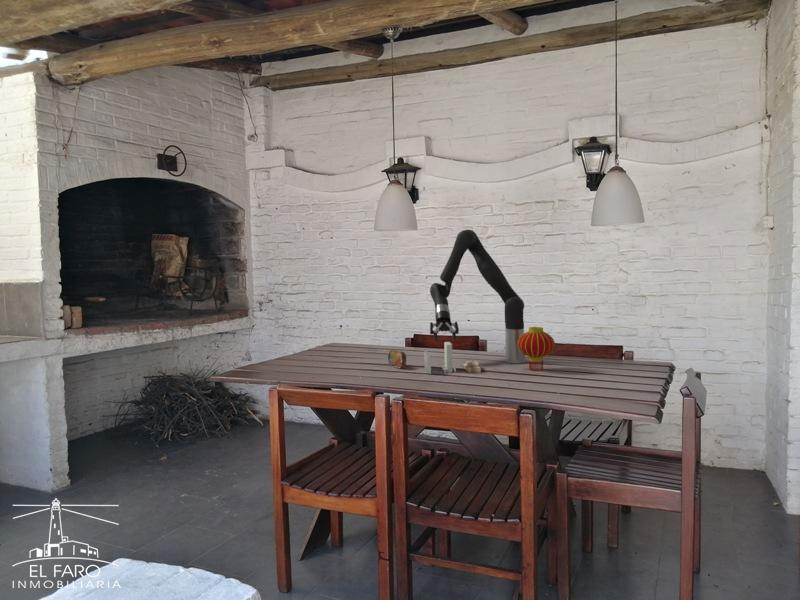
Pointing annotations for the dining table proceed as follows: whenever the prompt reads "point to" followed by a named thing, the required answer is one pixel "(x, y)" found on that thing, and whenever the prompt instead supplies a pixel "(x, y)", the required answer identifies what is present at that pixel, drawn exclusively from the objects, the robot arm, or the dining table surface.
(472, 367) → the offcuts
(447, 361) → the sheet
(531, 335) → the lantern
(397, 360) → the tin
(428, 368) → the rack
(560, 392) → the dining table surface
